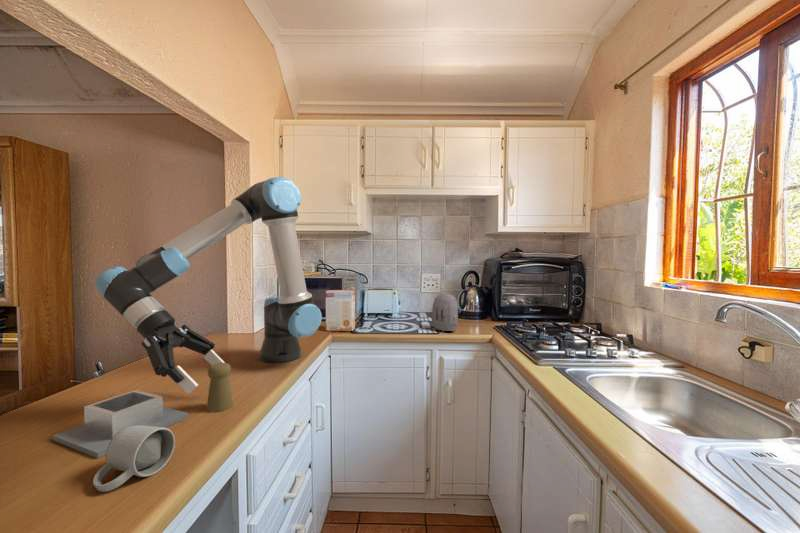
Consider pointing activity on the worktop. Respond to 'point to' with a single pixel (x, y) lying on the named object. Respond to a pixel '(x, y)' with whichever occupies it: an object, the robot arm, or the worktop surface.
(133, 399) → the metal collar
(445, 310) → the small grey backpack
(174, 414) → the base plate
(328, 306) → the cracker box
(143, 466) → the ceramic mug
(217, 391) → the cork
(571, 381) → the worktop surface
